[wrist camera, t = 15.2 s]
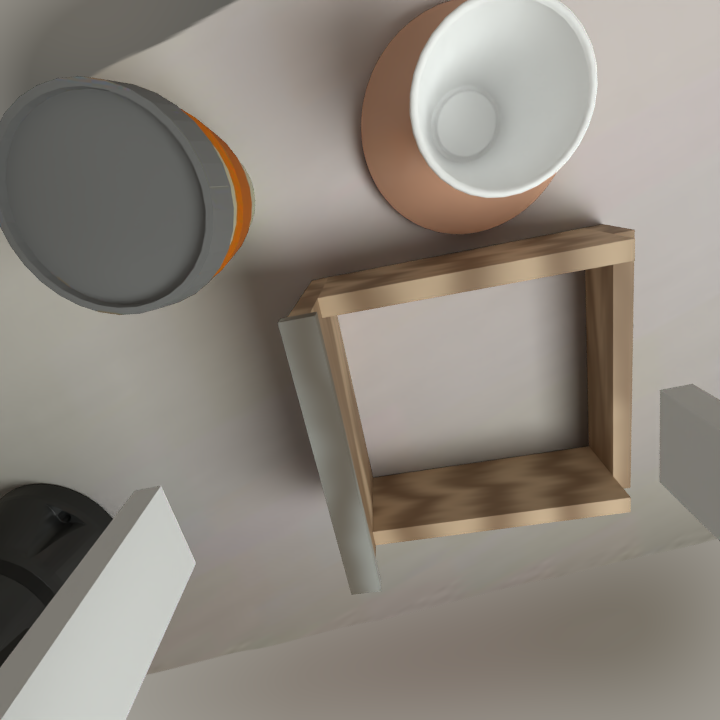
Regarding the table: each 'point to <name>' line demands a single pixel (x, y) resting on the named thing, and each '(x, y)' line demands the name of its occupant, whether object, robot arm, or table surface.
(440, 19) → the saucer
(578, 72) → the cup
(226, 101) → the table surface
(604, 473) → the frame
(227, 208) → the reusable coffee cup
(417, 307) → the table surface
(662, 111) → the table surface
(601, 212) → the table surface
